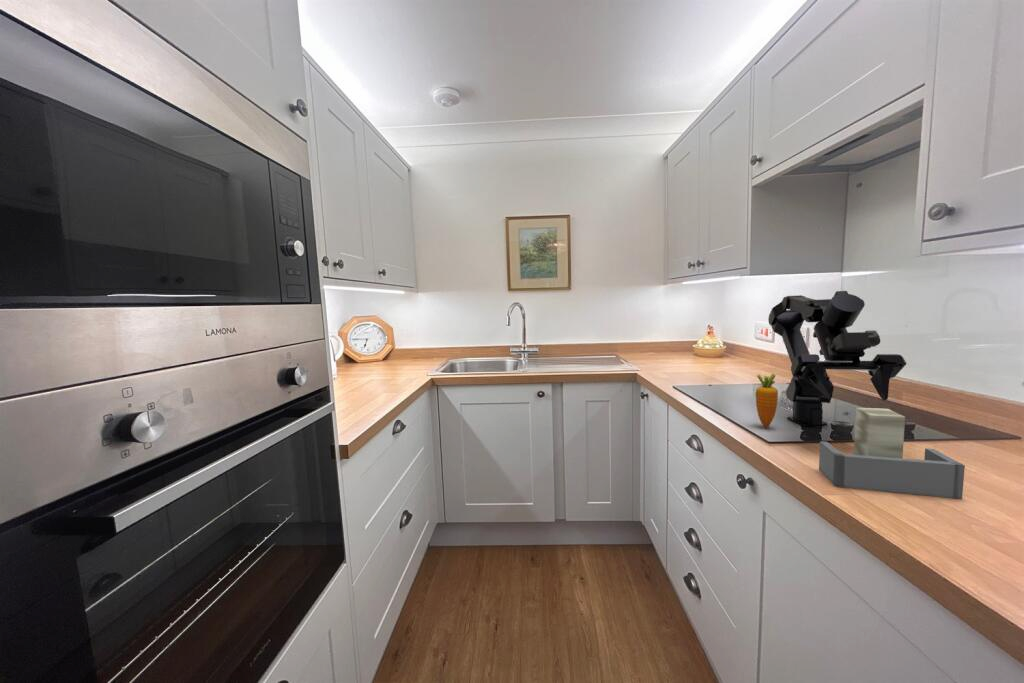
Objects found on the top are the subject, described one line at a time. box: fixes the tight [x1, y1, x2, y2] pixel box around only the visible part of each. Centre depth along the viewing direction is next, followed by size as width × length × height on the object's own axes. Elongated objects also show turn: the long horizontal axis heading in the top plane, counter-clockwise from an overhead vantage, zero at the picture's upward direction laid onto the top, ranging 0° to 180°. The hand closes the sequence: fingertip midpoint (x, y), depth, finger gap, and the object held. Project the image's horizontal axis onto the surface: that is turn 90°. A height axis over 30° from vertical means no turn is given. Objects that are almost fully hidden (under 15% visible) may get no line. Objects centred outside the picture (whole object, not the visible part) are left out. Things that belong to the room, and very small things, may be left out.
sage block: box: [853, 407, 906, 458], centre depth 71 cm, size 5×5×13 cm
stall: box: [818, 441, 966, 500], centre depth 69 cm, size 7×17×6 cm, turn 70°
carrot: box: [755, 373, 779, 429], centre depth 99 cm, size 5×5×15 cm
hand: (857, 398), depth 77 cm, fingers open, 9 cm apart
